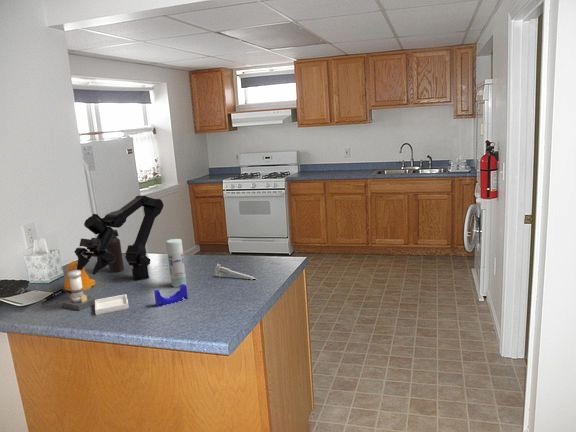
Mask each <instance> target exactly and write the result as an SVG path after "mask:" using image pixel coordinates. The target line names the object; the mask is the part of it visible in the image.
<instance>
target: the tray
mask: <svg viewBox="0 0 576 432" xmlns="http://www.w3.org/2000/svg"><path fill="white" fill-rule="evenodd" d="M129 309H130V306H129V301H128V295H127V294H126V293H125V294H120V295H114V296H110V297H109V296H108V297H103V298H98V299H97V298H96V300H95V304H94V311H95V315H96V316H99V315H104V314H108V313H110V314H111V313H114V312H121V311H124V310H129Z"/></svg>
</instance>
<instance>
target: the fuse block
mask: <svg viewBox="0 0 576 432" xmlns="http://www.w3.org/2000/svg"><path fill="white" fill-rule="evenodd" d="M80 298H81V302H78V303H73V302H72V294H70V295H69V299H67V300H65V301H62V302H61V304H62V308H65V309H69V310H75V311H82V310H85V309H86V308H88V307H92V306H93V305H95V300H97V298H96V297H91V296H87V294H84V296H82V297H80Z"/></svg>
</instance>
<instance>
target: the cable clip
mask: <svg viewBox="0 0 576 432" xmlns="http://www.w3.org/2000/svg"><path fill="white" fill-rule="evenodd" d="M187 289H188V288H187V284H186V285H185V284H181V285H180V287H179V290H177V291H176V292H175V294H173V295H171V296H169V297H164V296H162V295H161V293H160V292H161V291H160V290H159V289H155V290H153V292H154V300H155V305H156V307H157V308H159V307H164V306H167V304H168V305H171V303H172V304H176V303H179V302H178V301H181V302H183V301H182V300H183V299H182V298H183V297H184V298H185V299H188V300H189V298H188V291H187ZM175 302H176V303H175ZM163 305H164V306H163Z"/></svg>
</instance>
